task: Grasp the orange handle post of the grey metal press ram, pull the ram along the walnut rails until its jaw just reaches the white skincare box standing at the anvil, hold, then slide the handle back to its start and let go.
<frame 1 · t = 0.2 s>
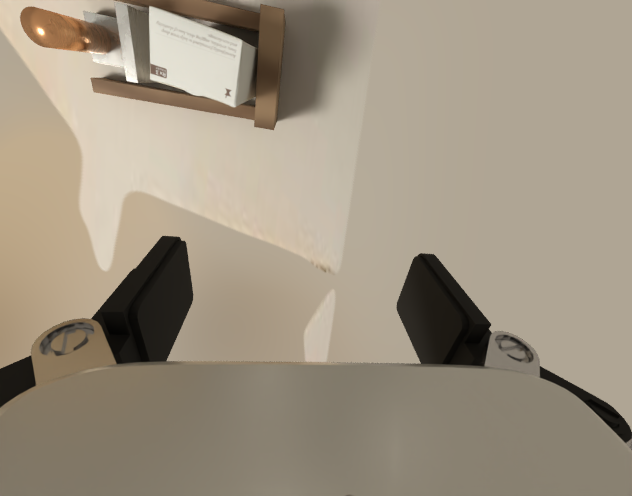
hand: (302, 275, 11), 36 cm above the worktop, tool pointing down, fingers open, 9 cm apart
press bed: (182, 56, 36), on the worktop
skincare box: (229, 65, 37), resting in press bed
ram: (101, 40, 31), point 6 cm above the worktop, slide at 0.0 cm
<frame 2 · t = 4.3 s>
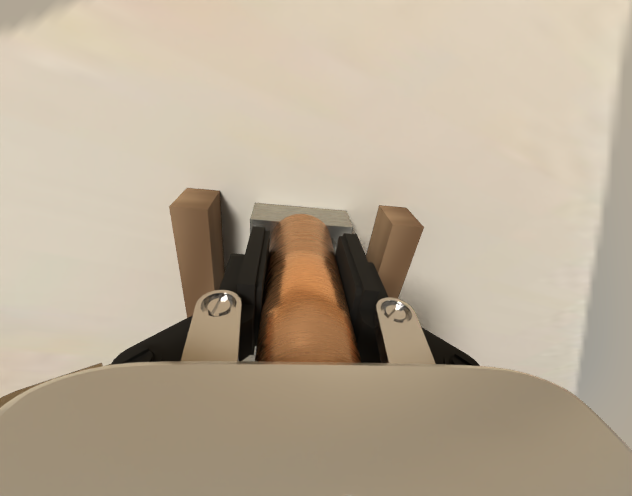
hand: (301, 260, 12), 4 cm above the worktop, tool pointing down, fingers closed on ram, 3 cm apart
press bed: (288, 334, 20), on the worktop
ram: (298, 327, 12), point 6 cm above the worktop, slide at 0.0 cm, touching gripper
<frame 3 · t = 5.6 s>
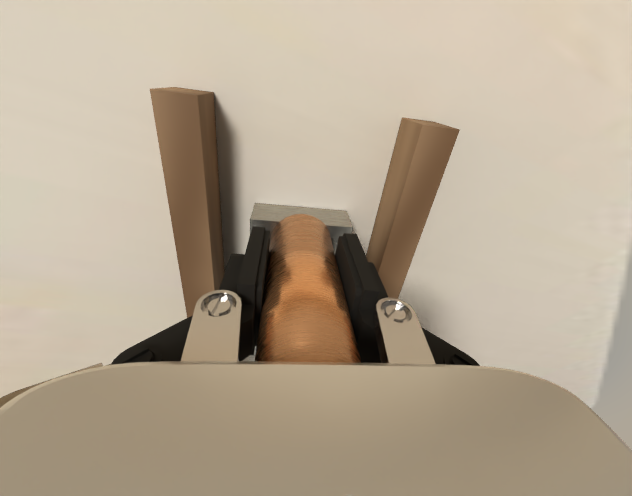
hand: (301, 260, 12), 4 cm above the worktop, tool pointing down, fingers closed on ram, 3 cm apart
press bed: (293, 287, 18), on the worktop
ram: (298, 327, 12), point 5 cm above the worktop, slide at 4.5 cm, touching gripper
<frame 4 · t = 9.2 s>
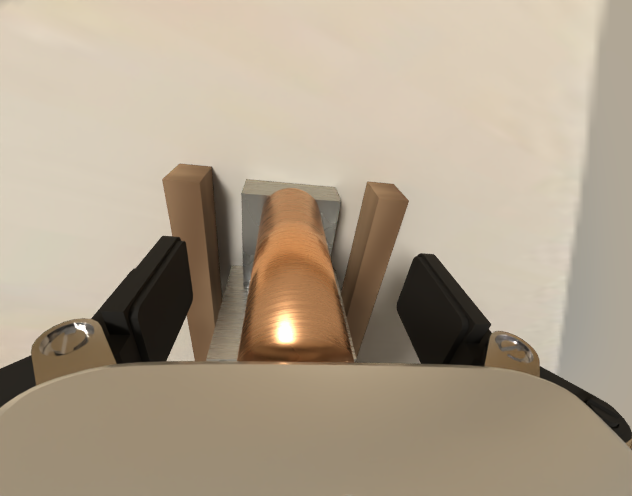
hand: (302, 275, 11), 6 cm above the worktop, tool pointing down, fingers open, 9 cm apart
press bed: (281, 310, 21), on the worktop
ram: (288, 295, 13), point 6 cm above the worktop, slide at 0.0 cm
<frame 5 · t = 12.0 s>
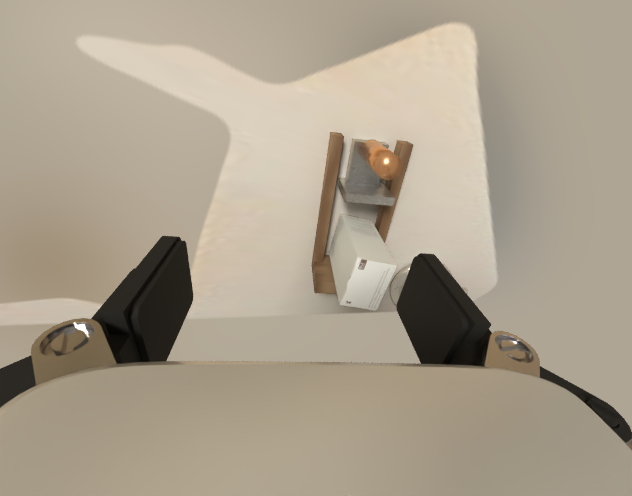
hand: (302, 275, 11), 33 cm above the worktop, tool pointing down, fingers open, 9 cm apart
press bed: (355, 203, 46), on the worktop
skincare box: (348, 234, 49), resting in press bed
ram: (372, 173, 38), point 5 cm above the worktop, slide at 0.0 cm
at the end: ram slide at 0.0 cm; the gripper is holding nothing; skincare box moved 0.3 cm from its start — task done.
